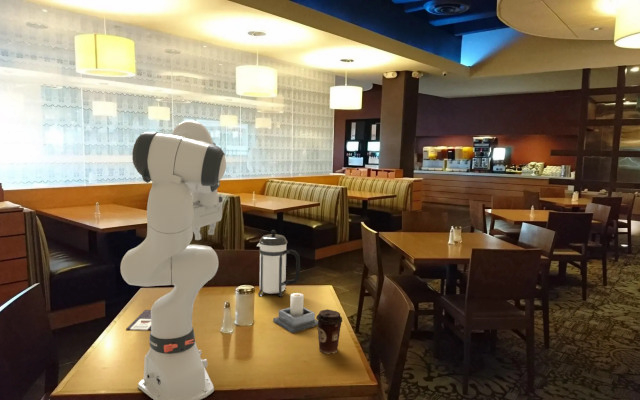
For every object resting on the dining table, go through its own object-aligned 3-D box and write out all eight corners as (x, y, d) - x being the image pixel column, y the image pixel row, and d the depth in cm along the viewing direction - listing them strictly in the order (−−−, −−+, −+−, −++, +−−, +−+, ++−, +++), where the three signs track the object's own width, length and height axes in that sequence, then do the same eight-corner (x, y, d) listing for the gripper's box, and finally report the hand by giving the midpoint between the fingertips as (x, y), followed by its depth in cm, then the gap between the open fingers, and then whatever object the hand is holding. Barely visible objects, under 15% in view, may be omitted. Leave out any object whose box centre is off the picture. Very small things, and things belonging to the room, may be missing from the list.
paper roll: (305, 320, 162) (306, 295, 161) (294, 323, 159) (295, 298, 158) (298, 316, 166) (298, 292, 165) (287, 319, 163) (288, 294, 162)
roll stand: (320, 324, 162) (320, 313, 161) (292, 333, 154) (292, 320, 153) (300, 314, 172) (300, 303, 171) (273, 321, 164) (273, 309, 163)
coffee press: (267, 301, 185) (268, 234, 181) (250, 291, 198) (251, 228, 194) (300, 294, 195) (301, 231, 192) (282, 285, 208) (283, 225, 204)
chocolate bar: (167, 310, 170) (151, 329, 152) (167, 312, 170) (151, 331, 152) (145, 309, 170) (126, 328, 152) (145, 312, 170) (126, 331, 152)
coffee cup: (318, 357, 136) (320, 318, 135) (312, 345, 144) (313, 309, 143) (344, 354, 139) (345, 316, 137) (336, 343, 147) (337, 307, 145)
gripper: (197, 203, 141) (198, 243, 142) (225, 197, 161) (225, 232, 162) (181, 202, 142) (181, 242, 144) (210, 196, 162) (210, 231, 164)
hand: (204, 237), depth 153 cm, fingers open, 8 cm apart
